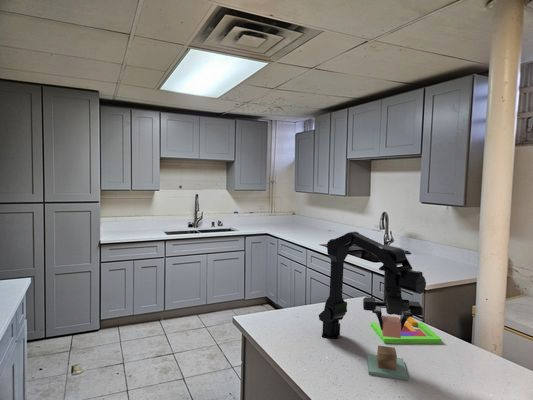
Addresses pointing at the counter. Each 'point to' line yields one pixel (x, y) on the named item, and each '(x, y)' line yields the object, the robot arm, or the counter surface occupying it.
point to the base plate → (374, 370)
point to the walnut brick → (386, 357)
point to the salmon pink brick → (391, 326)
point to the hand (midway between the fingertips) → (390, 330)
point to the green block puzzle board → (409, 333)
